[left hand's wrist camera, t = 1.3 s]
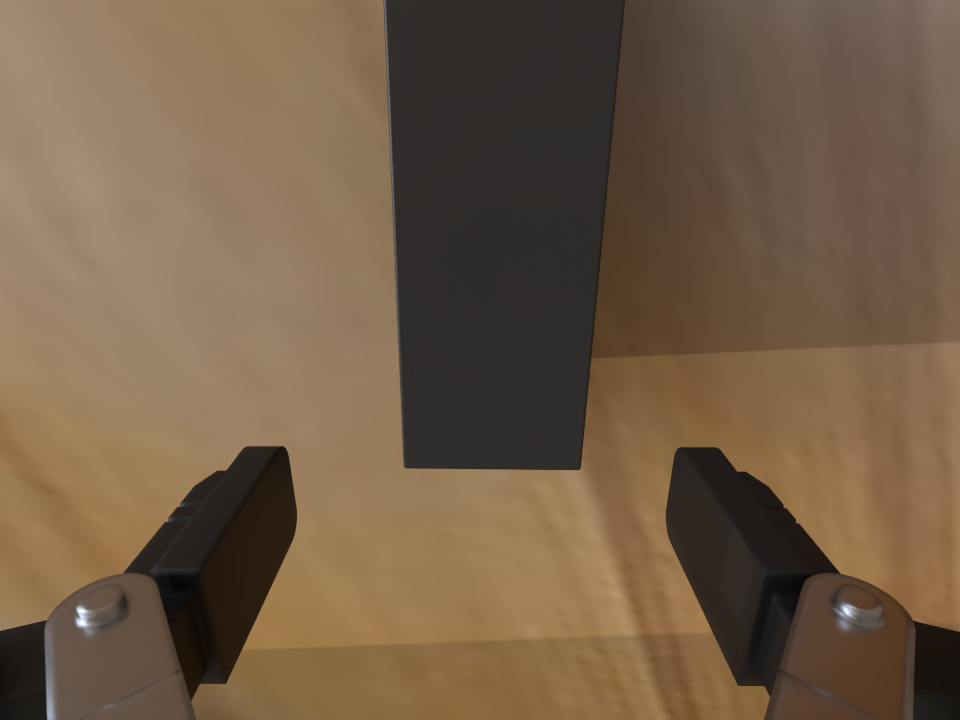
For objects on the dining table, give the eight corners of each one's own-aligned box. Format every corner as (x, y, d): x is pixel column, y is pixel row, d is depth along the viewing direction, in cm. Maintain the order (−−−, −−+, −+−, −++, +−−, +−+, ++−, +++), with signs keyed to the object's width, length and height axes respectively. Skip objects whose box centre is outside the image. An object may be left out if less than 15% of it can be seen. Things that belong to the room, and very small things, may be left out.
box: (546, 360, 29) (581, 471, 19) (428, 359, 29) (403, 469, 19) (579, -150, 21) (663, -393, 12) (417, -153, 21) (365, -399, 12)
